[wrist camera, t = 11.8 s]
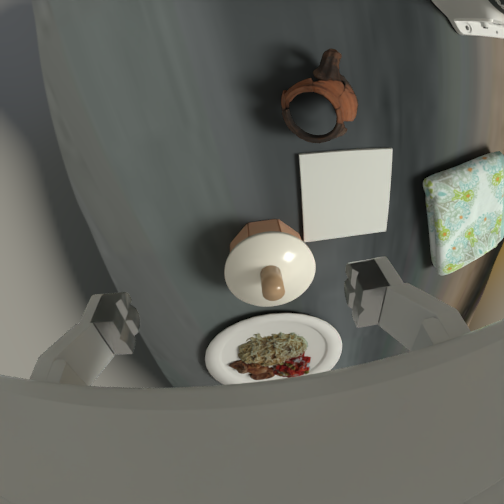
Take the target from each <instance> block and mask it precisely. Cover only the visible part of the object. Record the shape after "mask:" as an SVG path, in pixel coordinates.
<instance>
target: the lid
mask: <svg viewBox="0 0 504 504" xmlns="http://www.w3.org/2000/svg"><path fill="white" fill-rule="evenodd" d="M314 274H315V261H314V257H313V255H312V252H311V250H310V249H309V247H308V246H307V245H306V244H305V243H304V242H303V241H302V240H301V239H299V238H297V237H296V236H293V235H291V234H288V233H284V232H278V231H269V232H262V233H258V234H254V235H252V236H249V237H247V238H246V239H244V240H242V241H241V242H240V243H238V244H237V245H236V246H235V247H234V248H233V249H232V251H231V252H230V253H229V255H228V257H227V260H226V263H225V281H226V284H227V286H228V288H229V289H230V291H231V292H232V293H233V294H234V295H235V296H236V297H237V298H239V299H240V300H242V301H244V302H246V303H249V304H252V305H256V306H277V305H281V304H285V303H287V302H290V301H292V300H294V299H295V298H297V297H298V296H300V295H301V294H302V293H303V292H304V291H305V290H306V289H307V288H308V287H309V286H310V284H311V282H312V280H313V278H314Z"/></svg>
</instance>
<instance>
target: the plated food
mask: <svg viewBox="0 0 504 504" xmlns="http://www.w3.org/2000/svg"><path fill="white" fill-rule="evenodd" d="M341 352H342V341H341V338H340V335H339V333H338V332H337V331H336V329H335V328H334V327H333V326H331V325H330V324H329V323H327V322H326V321H323V320H321V319H319V318H317V317H313V316H309V315H305V314H298V313H271V314H266V315H260V316H255V317H252V318H248V319H245V320H242V321H239V322H237V323H235V324H233V325H231V326H229V327H227V328H226V329H224V330H223V331H222V332H220V333H219V334H217V336H216V337H215V338H214V339H213V340H212V341H211V342H210V344H209V346H208V348H207V350H206V355H205V363H206V367H207V369H208V371H209V373H210V374H211V375H212V376H213V377H214V378H215V379H216V380H217V381H219V382H220V383H222V384H223V385H230V384H241V383H250V382H259V381H268V380H276V379H283V378H290V377H296V376H303V375H309V374H315V373H320V372H326V371H330V370H331V369H332V368H333V367H334V366H335V364H336V363H337V361H338V360H339V358H340V355H341Z"/></svg>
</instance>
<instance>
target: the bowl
mask: <svg viewBox="0 0 504 504" xmlns="http://www.w3.org/2000/svg"><path fill="white" fill-rule="evenodd" d="M248 224H249V225H248ZM248 224H246V225H245V226H244V228H243V229H242V230H241V231H240V232H239V233H238V235H237V236H236V237H235V238H234V239H233V240H232V242H231V243H230V252H231V251H232V249H233V248H234V247H235V246H236V245H237V244H238V243H240V242H241V241H242V240H244V239H246V238H247V237H249V236H252V235H254V234H258V233H262V232H269V231H278V232H284V233H288V234H291V235H293V236H296V237H297V238H299V239H301V237H300V235H299V233H297V232H296V231H295V230H293V229H292V228H290V227H289V226H287V225H286V224H284V223H283V222H282V221H280V220H279V219H278V220H277V219H272V220H265V221H258V222H250V223H248Z"/></svg>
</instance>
